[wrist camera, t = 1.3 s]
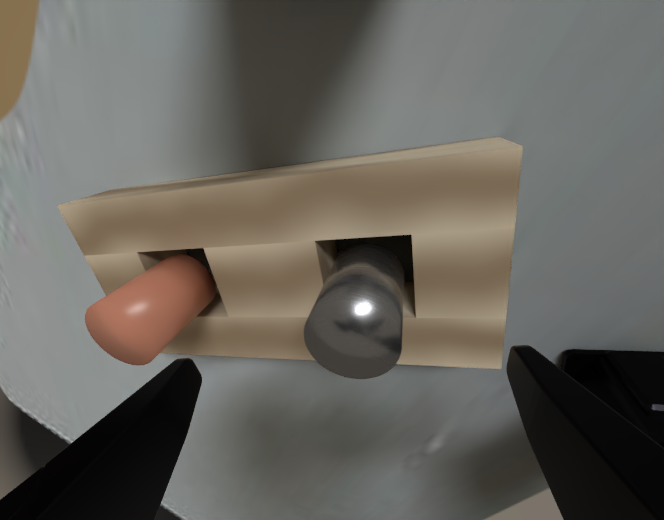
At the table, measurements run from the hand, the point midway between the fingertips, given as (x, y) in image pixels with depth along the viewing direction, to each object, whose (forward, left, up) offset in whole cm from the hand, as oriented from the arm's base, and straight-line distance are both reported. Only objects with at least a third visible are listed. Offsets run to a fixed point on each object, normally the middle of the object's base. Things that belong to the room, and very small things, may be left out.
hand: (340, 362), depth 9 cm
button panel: (-2, +7, -12) cm, 14 cm away
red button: (-2, +13, -9) cm, 15 cm away
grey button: (-2, 0, -9) cm, 9 cm away
